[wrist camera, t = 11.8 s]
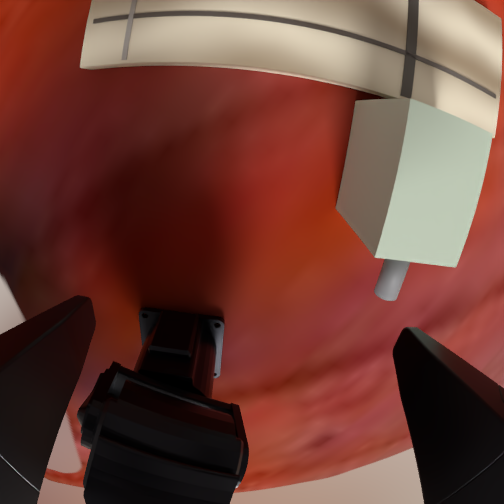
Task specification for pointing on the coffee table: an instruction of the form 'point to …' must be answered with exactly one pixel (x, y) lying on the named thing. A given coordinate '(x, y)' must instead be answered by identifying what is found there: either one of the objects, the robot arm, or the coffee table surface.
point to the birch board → (317, 44)
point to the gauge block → (411, 184)
